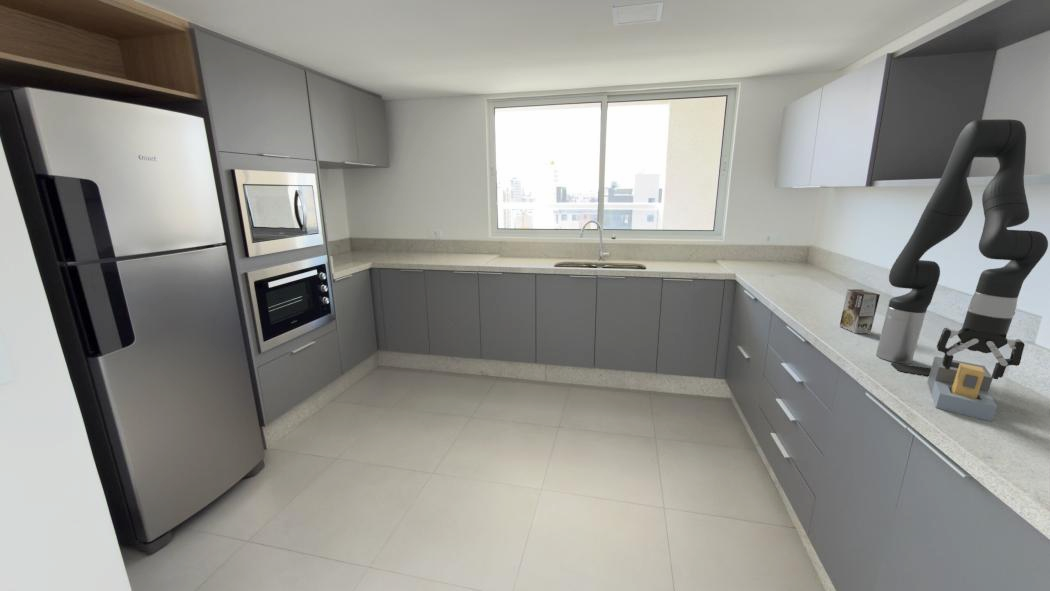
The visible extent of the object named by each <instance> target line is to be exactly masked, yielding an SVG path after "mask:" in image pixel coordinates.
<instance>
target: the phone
mask: <svg viewBox="0 0 1050 591" xmlns="http://www.w3.org/2000/svg"><path fill="white" fill-rule="evenodd" d="M890 365H891V367H893V368H894V369H895V371H897V372H899V373H902V372H903V373H904V374H908V373H910V374H909V375H915V374H917V375H916V376H921V375H923V377H928V376H929V374H930V371H931V367H925V366H919V365H911V364H906V363H897V362H891V363H890ZM903 373H902V374H903Z"/></svg>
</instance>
